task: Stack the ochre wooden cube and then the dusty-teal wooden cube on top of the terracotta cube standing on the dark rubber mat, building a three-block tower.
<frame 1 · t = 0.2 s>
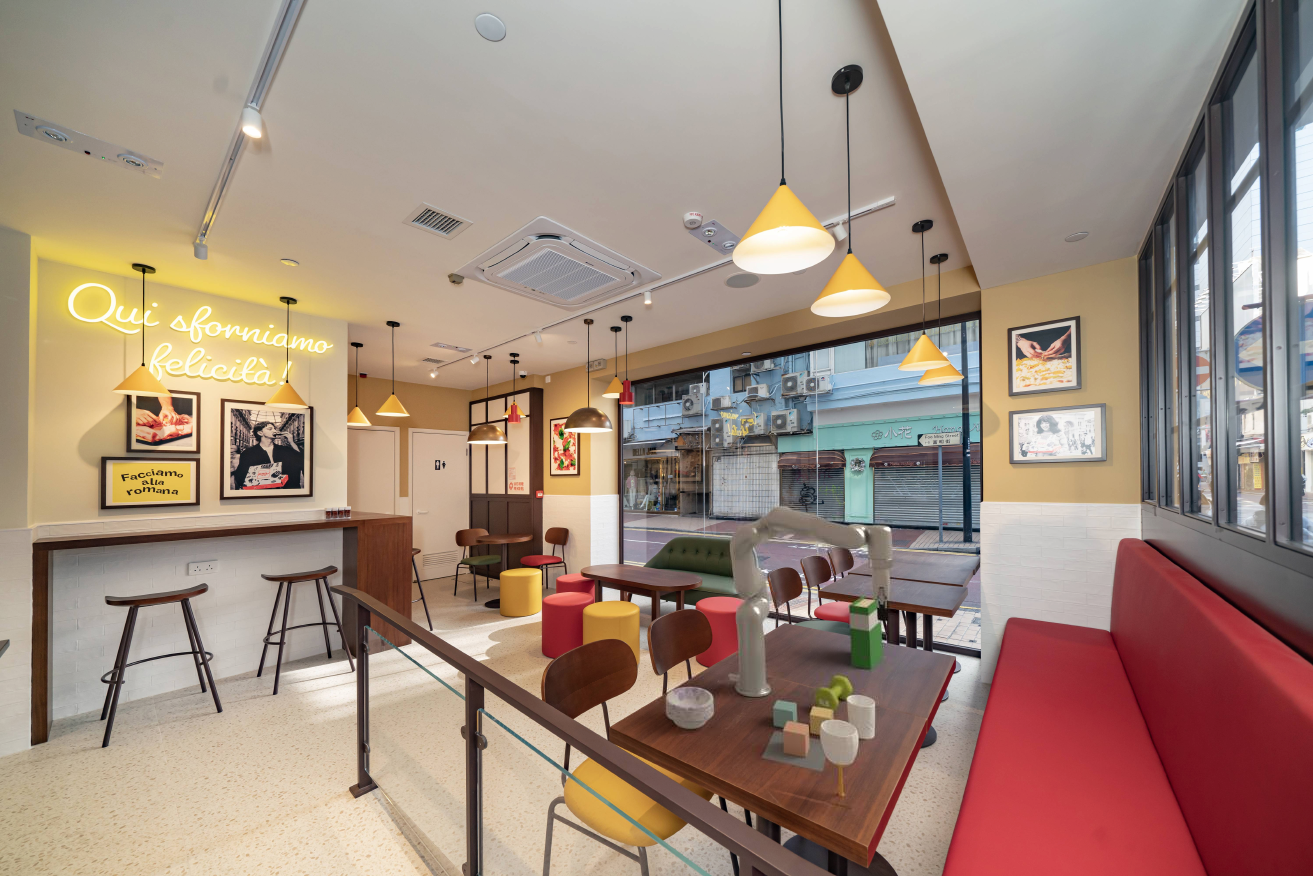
hand: (883, 616, 166), 31 cm above the table, fingers open, 9 cm apart
mat: (796, 751, 142), on the table
block terracotta: (796, 749, 142), point 1 cm above the table, touching mat
paper bowls: (690, 722, 160), on the table
dumbbell: (834, 705, 171), on the table
block teal: (785, 725, 157), on the table
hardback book: (867, 661, 209), on the table
wine glass: (841, 797, 122), on the table
block ochre: (822, 732, 153), on the table
white cup: (862, 736, 150), on the table
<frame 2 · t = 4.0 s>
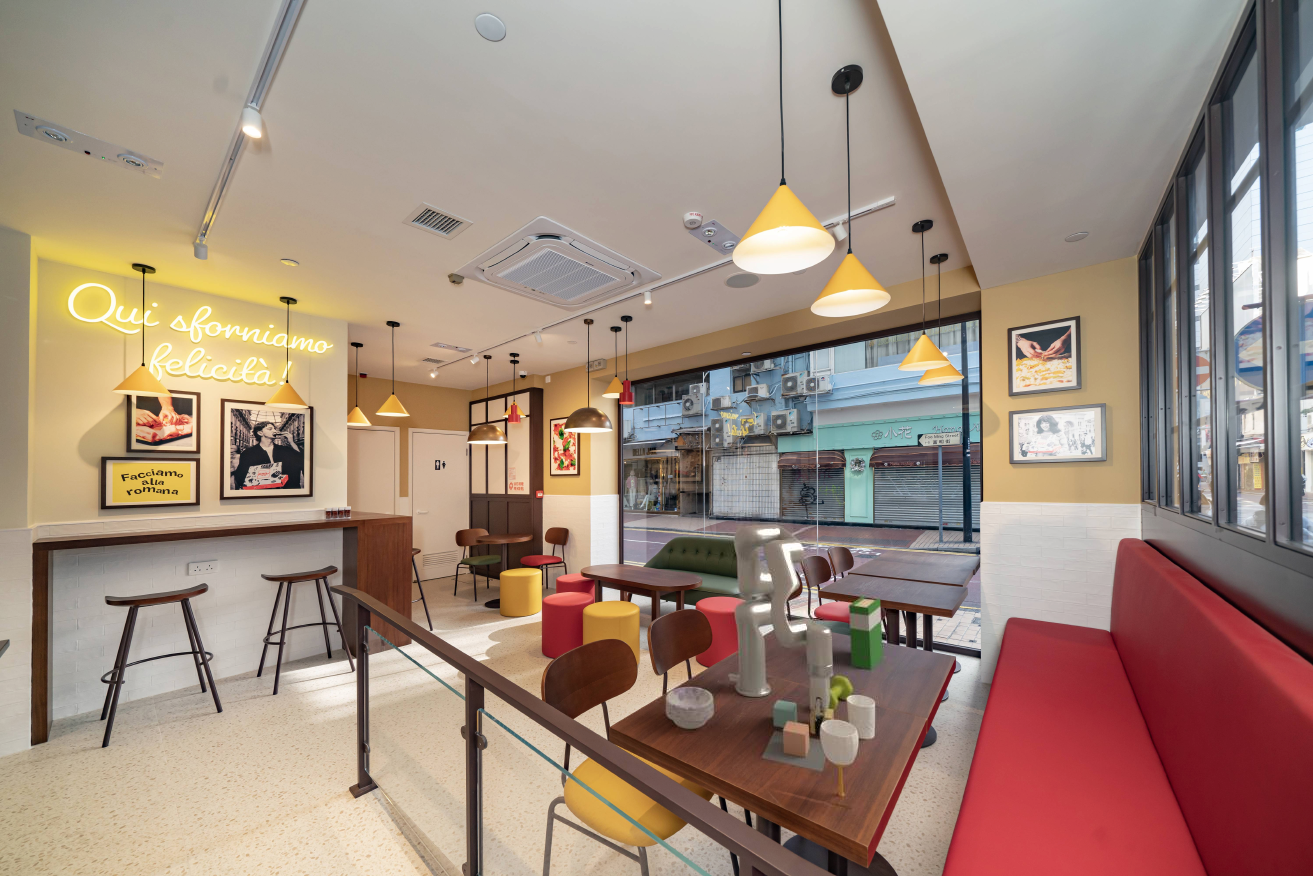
hand: (822, 729, 153), 1 cm above the table, fingers closed on block ochre, 6 cm apart
block ochre: (822, 732, 153), on the table, touching gripper
everything else where it was.
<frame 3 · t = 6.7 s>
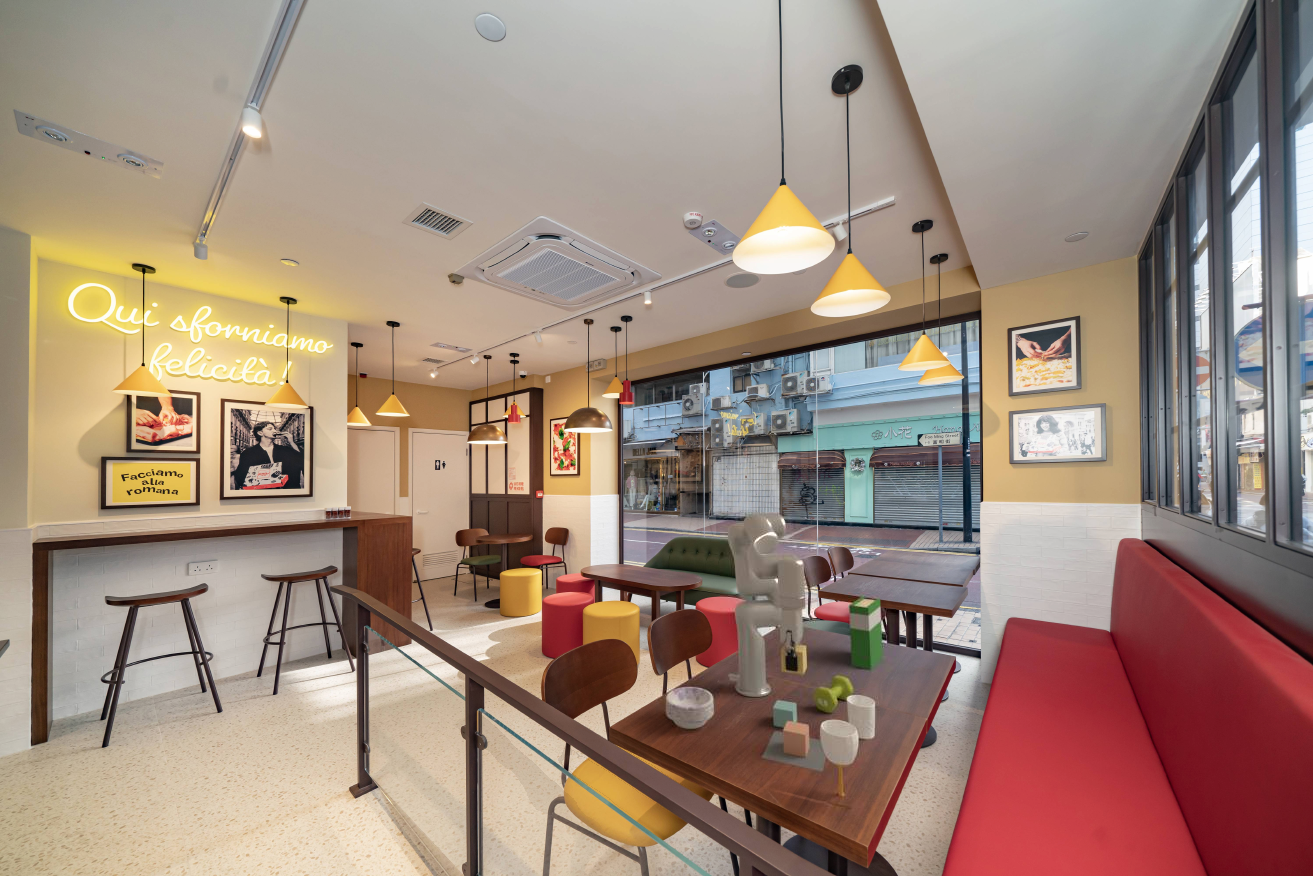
hand: (794, 665, 144), 24 cm above the table, fingers closed on block ochre, 6 cm apart
block ochre: (794, 669, 144), point 23 cm above the table, touching gripper
everything else where it was.
when the fingers open (9 cm above the table, at t = 9.8 s): block ochre drops 1 cm, resting on block terracotta.
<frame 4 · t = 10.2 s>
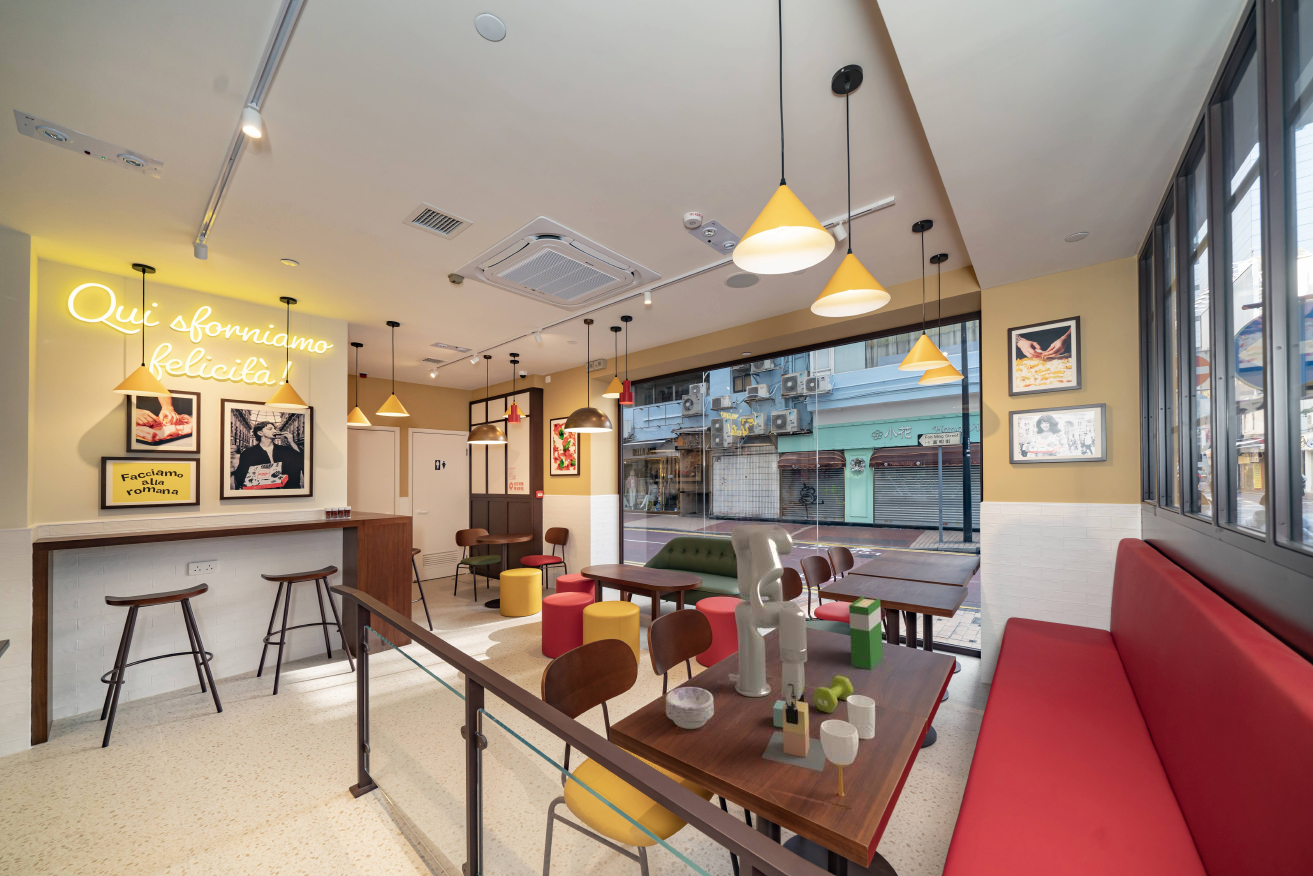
hand: (795, 715, 143), 10 cm above the table, fingers open, 9 cm apart
block terracotta: (796, 749, 142), point 1 cm above the table, touching block ochre, mat
block ochre: (796, 727, 143), point 7 cm above the table, touching block terracotta
everything else where it was.
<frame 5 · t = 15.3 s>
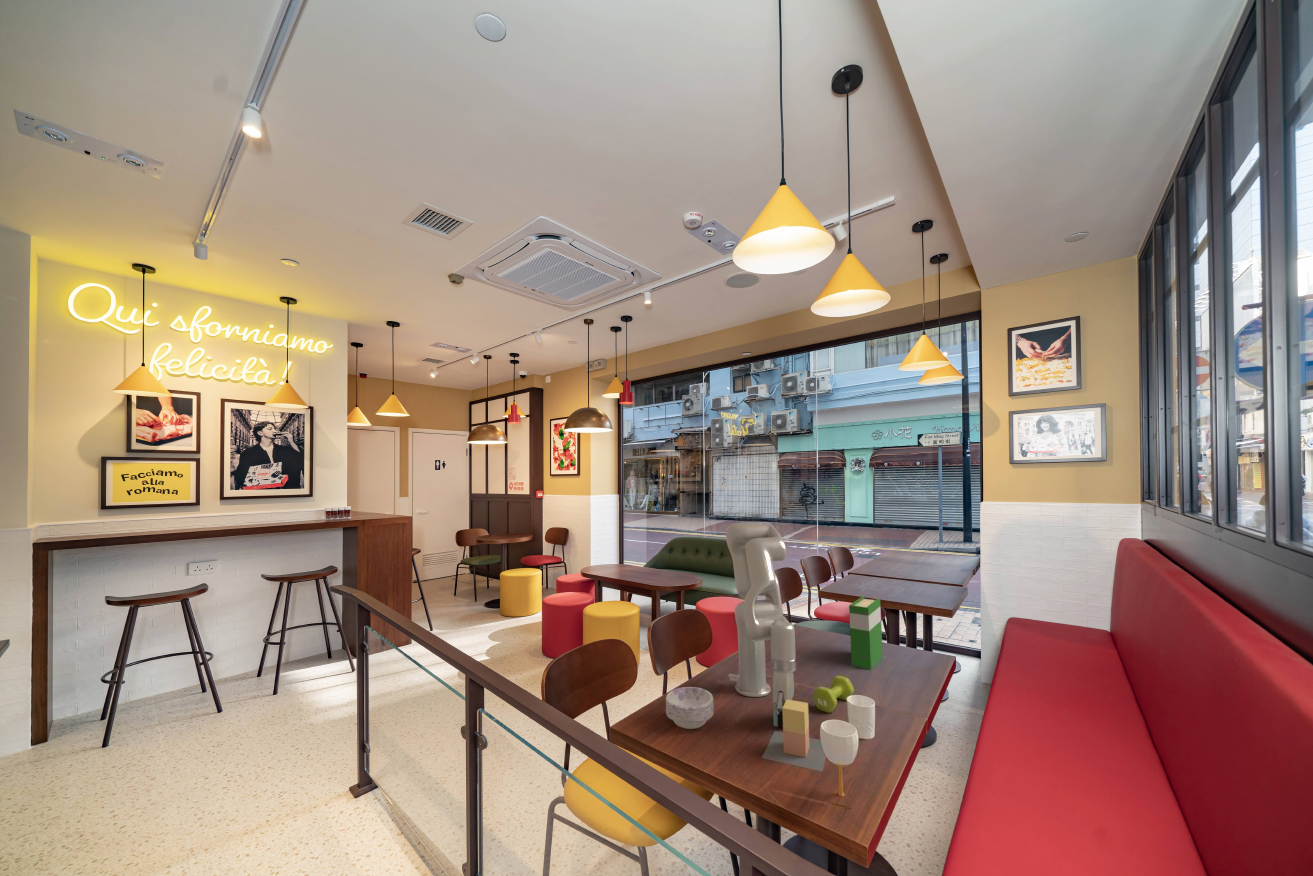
hand: (785, 722, 157), 1 cm above the table, fingers closed on block teal, 6 cm apart
block teal: (785, 725, 157), on the table, touching gripper
everything else where it was.
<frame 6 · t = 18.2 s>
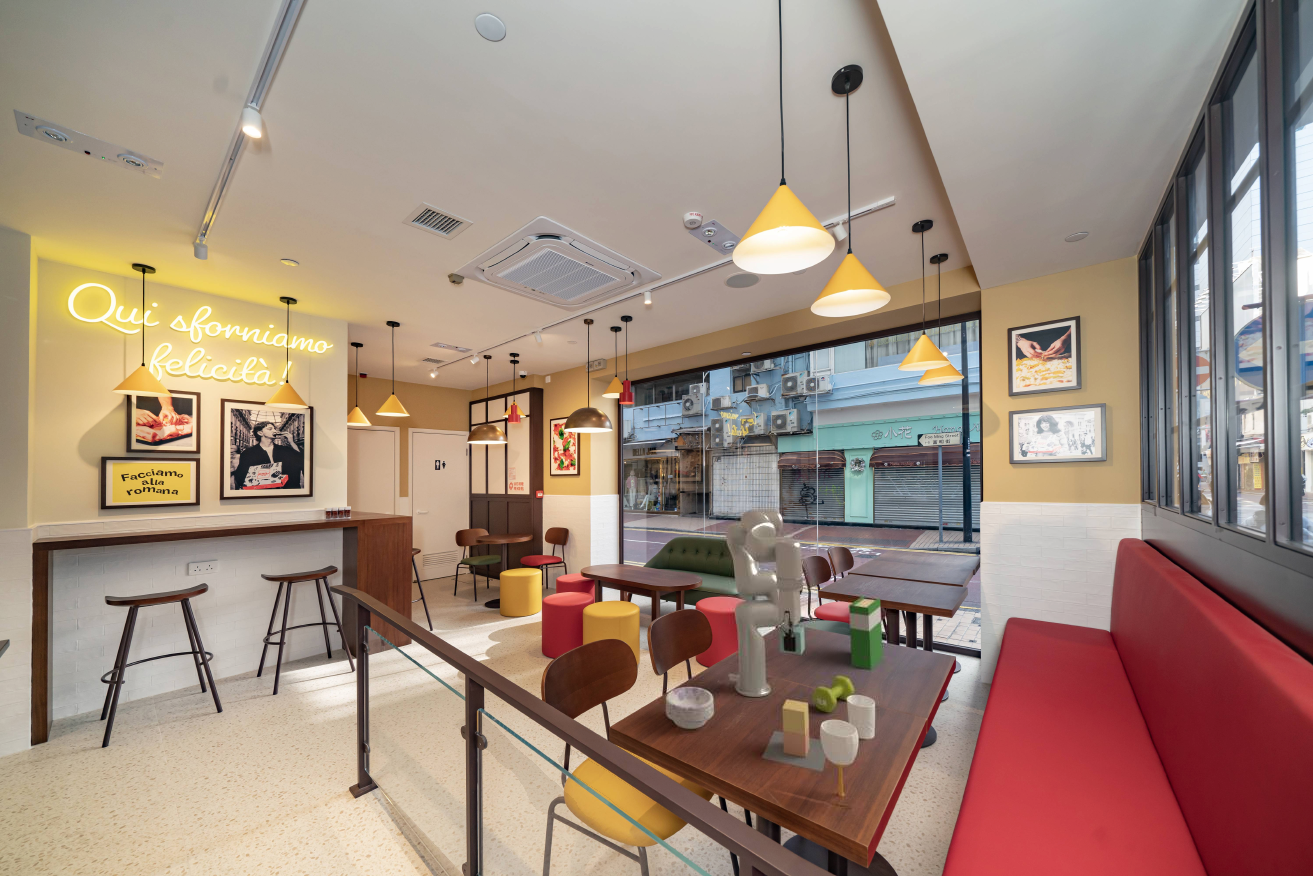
hand: (792, 646, 146), 28 cm above the table, fingers closed on block teal, 6 cm apart
block teal: (792, 650, 146), point 27 cm above the table, touching gripper
everything else where it was.
when the fingers open (15 cm above the table, at t = 21.2 s): block teal drops 2 cm, resting on block ochre.
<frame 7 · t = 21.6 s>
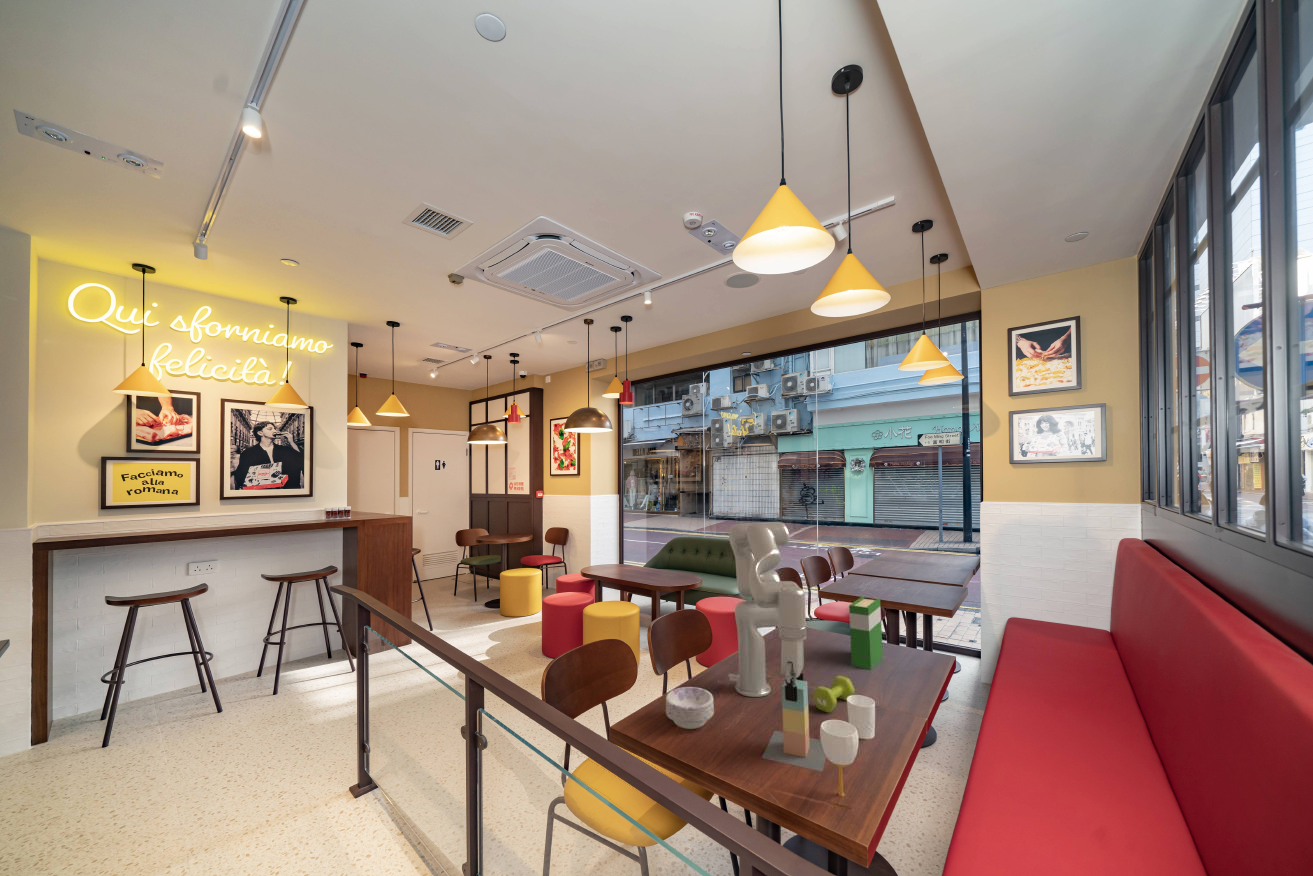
hand: (794, 693, 143), 16 cm above the table, fingers open, 9 cm apart
block teal: (795, 705, 143), point 13 cm above the table, touching block ochre
block ochre: (796, 727, 143), point 7 cm above the table, touching block teal, block terracotta
everything else where it was.
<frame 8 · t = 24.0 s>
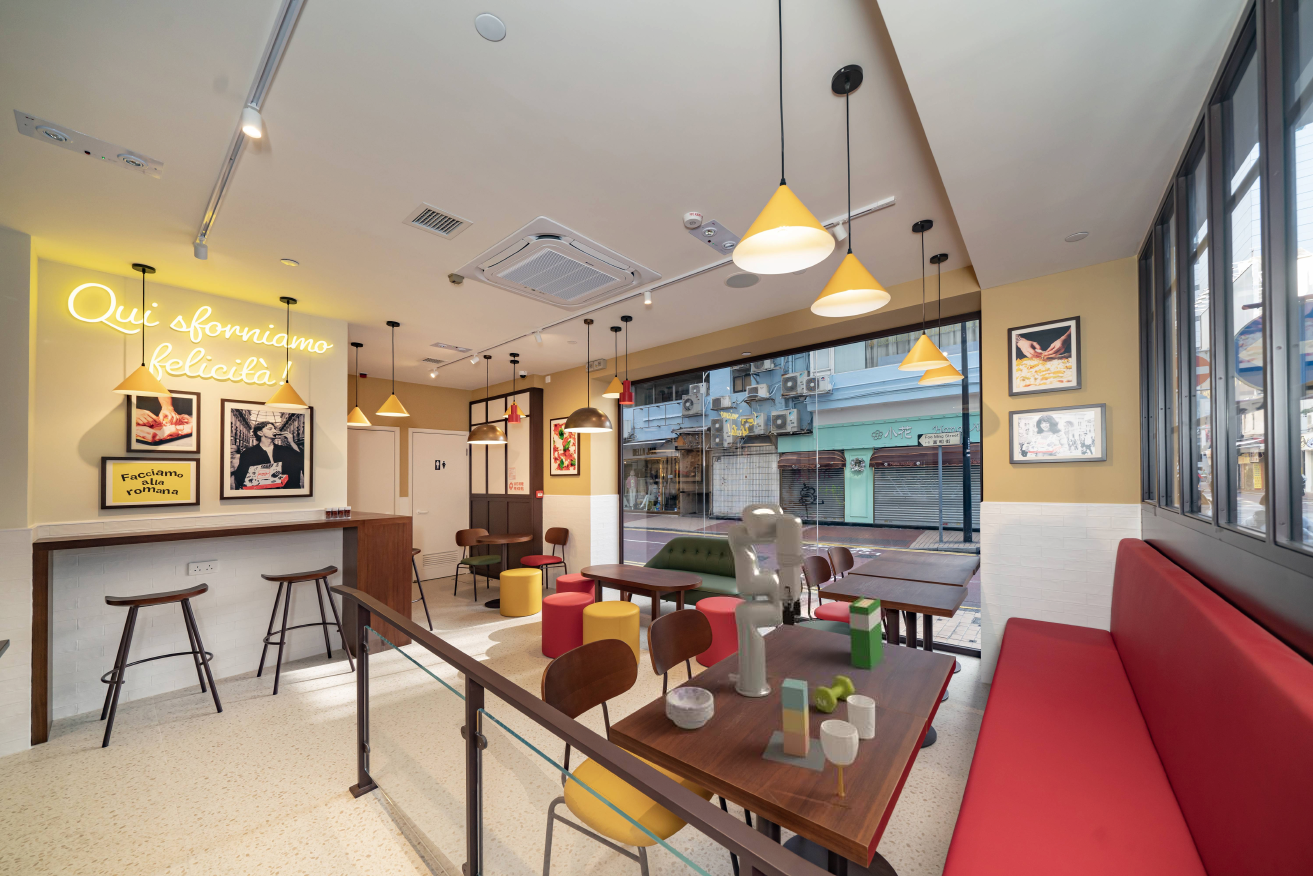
hand: (792, 620, 145), 36 cm above the table, fingers open, 9 cm apart
nothing on the table moved.
at the end: block ochre 0.0 cm off-centre on the block terracotta, point 6.0 cm above the block terracotta's base; block teal 0.0 cm off-centre on the block terracotta, point 12.0 cm above the block terracotta's base; block terracotta tilted 0° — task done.
